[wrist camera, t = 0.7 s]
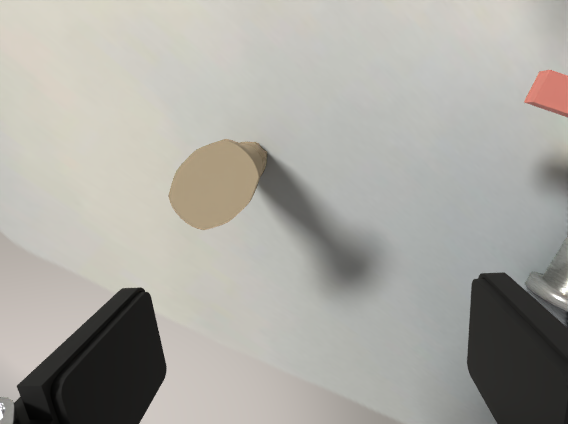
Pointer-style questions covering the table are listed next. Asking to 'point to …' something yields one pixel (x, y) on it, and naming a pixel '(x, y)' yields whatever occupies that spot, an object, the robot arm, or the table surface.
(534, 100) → the lever
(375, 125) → the table surface
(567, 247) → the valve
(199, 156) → the handle
